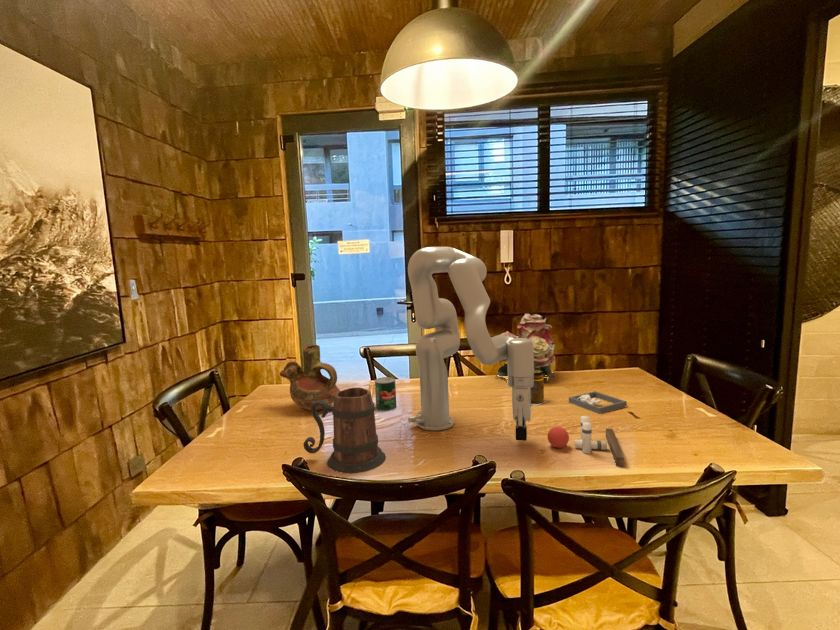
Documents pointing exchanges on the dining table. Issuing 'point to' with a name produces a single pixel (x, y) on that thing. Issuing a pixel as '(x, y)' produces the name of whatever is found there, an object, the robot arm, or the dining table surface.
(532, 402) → the condiment
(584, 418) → the back left pin
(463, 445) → the dining table surface
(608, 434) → the wall
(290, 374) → the ceramic vessel
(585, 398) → the anatomical pelvis
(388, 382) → the canned tomato
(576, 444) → the front pin
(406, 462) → the dining table surface
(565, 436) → the ball
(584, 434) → the back right pin
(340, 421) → the tankard
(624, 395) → the dining table surface
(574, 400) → the grey square tray
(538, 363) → the rose bouquet
